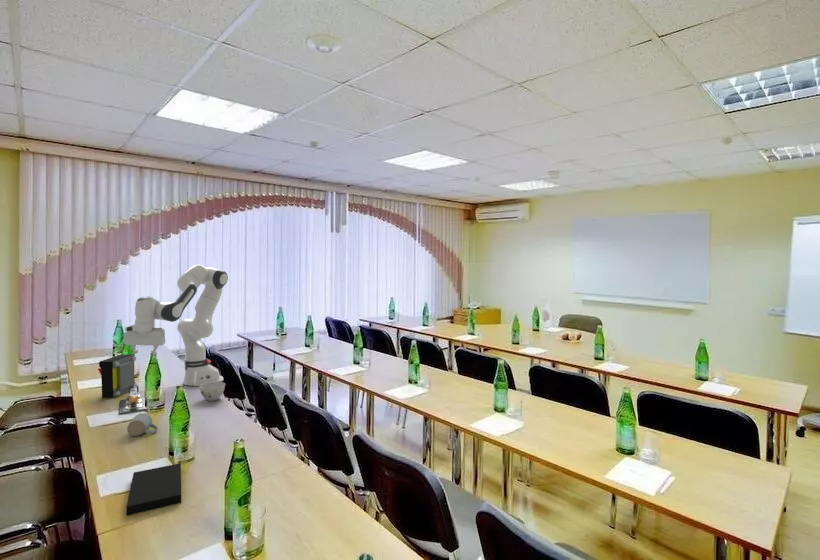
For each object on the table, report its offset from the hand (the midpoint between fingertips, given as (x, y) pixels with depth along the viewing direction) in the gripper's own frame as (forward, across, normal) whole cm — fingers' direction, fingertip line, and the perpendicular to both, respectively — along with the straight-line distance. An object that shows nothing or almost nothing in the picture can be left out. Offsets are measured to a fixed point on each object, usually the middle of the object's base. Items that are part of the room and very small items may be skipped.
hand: (144, 353), depth 224 cm
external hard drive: (+28, -57, +87) cm, 107 cm away
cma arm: (+23, +4, +2) cm, 23 cm away
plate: (+26, +2, +6) cm, 27 cm away
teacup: (+25, -35, -3) cm, 43 cm away
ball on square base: (+26, +10, -7) cm, 28 cm away
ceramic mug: (+27, -24, +40) cm, 54 cm away
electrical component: (+26, +23, -15) cm, 38 cm away
